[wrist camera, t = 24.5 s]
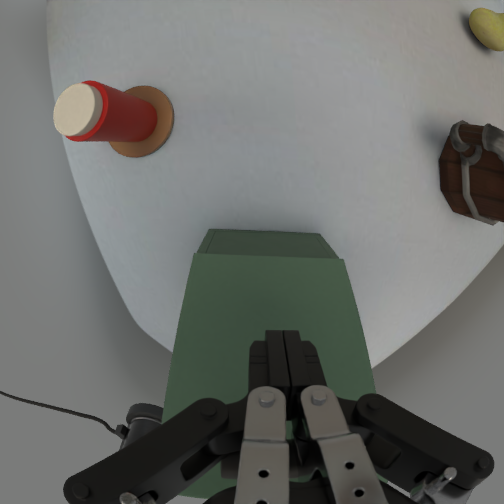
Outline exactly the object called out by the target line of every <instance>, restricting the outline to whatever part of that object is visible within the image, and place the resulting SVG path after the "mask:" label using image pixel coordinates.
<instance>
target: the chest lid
mask: <svg viewBox="0 0 504 504" xmlns="http://www.w3.org/2000/svg"><path fill="white" fill-rule="evenodd" d="M266 330H299V333H300V337H301V341H310V342H311V343H312V344H313V345H314V346H315V347H316V349H317V353H318V357H319V359H320V363H321V366H322V370H323V373H324V376H325V380H326V383H327V386H328V388H330V389H331V390H332V391H333V392H334V393H335V395H336V396H337V397H340V398H343V399H349V400H355V401H358V399H359V398H360V397H361V396H363V395H365V394H368V393H375V394H376V390H375V385H374V379H373V374H372V369H371V364H370V360H369V355H368V350H367V346H366V342H365V337H364V333H363V329H362V325H361V321H360V317H359V313H358V309H357V305H356V302H355V298H354V294H353V291H352V287H351V283H350V280H349V277H348V273H347V270H346V266H345V263H344V260H343V259H334V258H306V257H279V256H253V255H227V254H202V253H194V255H193V260H192V264H191V268H190V272H189V277H188V281H187V286H186V290H185V295H184V299H183V304H182V309H181V313H180V318H179V323H178V328H177V333H176V338H175V344H174V349H173V354H172V360H171V366H170V371H169V377H168V383H167V390H166V396H165V402H164V409H163V415H162V423H161V424H163V423H164V422H166V421H168V420H169V419H171V418H172V417H174V416H175V415H176V414H178V413H179V412H181V411H182V410H184V409H185V408H187V407H188V406H190V405H191V404H192V403H194V402H195V401H197V400H199V399H202V398H215V399H218V400H220V401H222V402H223V403H225V404H229V403H234V402H237V401H240V400H241V399H243V398H244V397H245V396H246V395H247V394H248V369H249V347H250V346H251V344H252V343H253V341H254V340H259V341H265V331H266ZM291 430H292V421H286V440H287V442H288V443H289V481H293V482H298V467H297V462H296V458H295V453H294V449H293V444H292V439H291ZM240 454H241V450H240V451H235V452H231V453H228V455H227V456H226V457H225V458H224V459H222V460H221V461H220V462H219V463H218V464H217V465H215V466H214V467H213V468H212V469H211V470H209V471H208V472H207V473H206V474H204V475H203V476H202V477H201V478H199V479H198V480H197V481H196V482H194V483H193V484H192V485H190V486H189V487H188V488H186V489H185V490H184V491H182V492H181V493H180V494H178V495H181V496H187V497H195V498H204V499H209V498H210V497H211V496H213V495H215V494H216V493H218V492H220V491H222V490H224V489H227V488H229V487H233V486H236V485H237V478H238V470H239V462H240ZM376 474H377V473H376ZM377 477H378V479H379V480H381V481H383V482H385V483H387V482H388V480H387V479H385V478H383V477H382V476H380V475H378V474H377Z"/></svg>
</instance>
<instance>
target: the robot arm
mask: <svg viewBox="0 0 504 504" xmlns="http://www.w3.org/2000/svg"><path fill="white" fill-rule="evenodd" d="M0 394H2V395H4V396H7V397H10V398H13V399H16V400H19V401H22V402H26V403H30V404H34V405H38V406H41V407H46V408H50V409H54V410H57V411H61V412H66V413H69V414H73V415H77V416H80V417H84V418H89V419H93V420H95V421H98V422H100V423H102V424H103V425H104V426H106V428H107V429H108V430H109V431H111V432H112V433H114V434H116V435H118V436H119V437H120V438H121V439H123V441H122V443H121V446H120V449H119V451H118V452H116V453H114V454H112V455H111V456H109V457H107V458H105V459H104V460H102V461H100V462H98V463H96V464H94V465H92V466H91V467H89V468H87V469H85V470H83V471H81V472H79V473H77V474H75V475H73V476H71V477H70V478H68V479H67V480H66V482H65V484H64V488H63V492H64V496H65V498H66V500H67V501H68V503H69V504H165V503H167V502H168V501H170V500H171V499H173V498H174V497H175V496H177V495H178V494H180V493H181V492H182V491H184V490H185V489H186V488H188V487H189V486H190V485H192V484H193V483H194V482H196V481H197V480H198V479H199V478H201V477H202V476H203V475H204V474H206V473H207V472H208V471H209V470H211V469H212V468H213V467H214V466H215V465H217V464H218V463H219V462H220V461H221V460H222V459H224V458H225V457H226V456H227V455H228V453H231V452H235V451H240V450H241V454H240V462H239V470H238V478H237V485H236V486H233V487H229V488H227V489H224V490H222V491H220V492H218V493H216V494H215V495H213V496H211V497H210V498H209V499H208V500H207V501H205V502H204V503H203V504H466V502H467V500H468V498H469V496H470V494H471V492H472V490H473V489H474V488H475V487H476V486H477V485H478V484H480V483H481V482H482V481H483V480H484V479H486V478H487V477H488V476H489V475H490V474H491V473H492V471H493V469H494V460H493V457H492V456H491V455H490V454H489V453H488V452H487V451H484V450H482V449H480V448H478V447H476V446H474V445H472V444H470V443H468V442H466V441H464V440H462V439H460V438H457V437H456V436H454V435H452V434H450V433H448V432H446V431H444V430H442V429H441V428H439V427H437V426H435V425H433V424H431V423H429V422H427V421H426V420H424V419H422V418H420V417H418V416H416V415H414V414H413V413H411V412H409V411H407V410H406V409H404V408H402V407H400V406H398V405H397V404H395V403H393V402H392V401H390V400H388V399H386V398H385V397H383V396H381V395H379V394H375V393H368V394H365V395H363V396H361V397H360V398H359V399H358V401H355V400H349V399H343V398H340V397H337V396H336V395H335V393H334V392H333V391H332V390H331V389H330V388H328V386H327V383H326V380H325V376H324V373H323V370H322V366H321V363H320V359H319V357H318V353H317V349H316V347H315V346H314V345H313V344H312V343H311V342H310V341H301V337H300V333H299V330H266V331H265V341H259V340H254V341H253V343H252V344H251V346H250V347H249V369H248V394H247V395H246V396H245V397H244V398H243V399H241V400H240V401H237V402H234V403H229V404H225V403H223V402H222V401H220V400H218V399H215V398H202V399H199V400H197V401H195V402H194V403H192V404H191V405H190V406H188V407H187V408H185V409H184V410H182V411H181V412H179V413H178V414H176V415H175V416H174V417H172V418H171V419H169V420H168V421H166V422H164V423H163V424H161V423H162V421H161V420H158V419H156V418H153V417H148V416H136V417H134V418H133V419H132V421H131V422H129V424H128V427H126V426H124V425H123V424H122V425H117V428H116V430H114V429H112V428H111V427H110V426H109V425H108V424H107V423H106V422H105V421H103V420H102V419H100V418H97V417H95V416H91V415H87V414H83V413H79V412H75V411H72V410H67V409H63V408H59V407H55V406H51V405H47V404H43V403H38V402H34V401H30V400H26V399H22V398H18V397H15V396H12V395H9V394H6V393H4V392H2V391H0ZM286 421H292V430H291V439H292V444H293V449H294V453H295V458H296V462H297V467H298V482H293V481H289V443H288V442H287V440H286ZM376 473H377V474H378V475H380V476H382V477H383V478H385V479H387V480H388V481H390V482H392V483H393V484H395V485H397V486H398V487H400V488H402V489H404V490H405V491H407V492H409V493H410V498H409V497H407V496H405V495H404V494H402V493H401V492H399V491H398V490H396V489H394V488H393V487H391V486H390V485H388V484H387V483H385V482H383V481H381V480H379V479H378V477H377V474H376Z"/></svg>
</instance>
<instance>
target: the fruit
mask: <svg viewBox="0 0 504 504" xmlns="http://www.w3.org/2000/svg"><path fill="white" fill-rule="evenodd" d="M469 25H470V28H471V30H472V32H473V33H474V35H475V36H476V37H477V39H478V40H479V41H480V42H481V43H482V44H483V45H485V46H486V47H487V48H489V49H492V50H494V51H504V13H495V12H493V11H491V10H488V9H485V8H477V9H475V10H473V11H472V13H471V15H470V18H469Z"/></svg>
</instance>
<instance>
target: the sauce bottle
mask: <svg viewBox="0 0 504 504" xmlns="http://www.w3.org/2000/svg"><path fill="white" fill-rule="evenodd" d="M54 124H55V126H56V128H57V130H58V131H59V132H60V133H61V134H63V135H65V136H66V137H67V138H68V139H70V140H72V141H78V142H79V141H114V142H140V141H142V140H145V139H146V138H148V137H149V136H150V135H151V134H152V132H153V131H154V129H155V127H156V124H157V113H156V110H155V108H154V107H153V106H152V105H151V104H150V103H149V102H146V101H144V100H142V99H139V98H137V97H135V96H132V95H130V94H127V93H125V92H122V91H120V90H117V89H115V88H112V87H109V86H107V85H104V84H101V83H99V82H96V81H84V82H82V83H77V84H74V85H71V86H70V87H68V88H67V89H66V90H64V92H63V93H62V94H61V95H60V97H59V98H58V100H57V102H56V105H55V108H54Z"/></svg>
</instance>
